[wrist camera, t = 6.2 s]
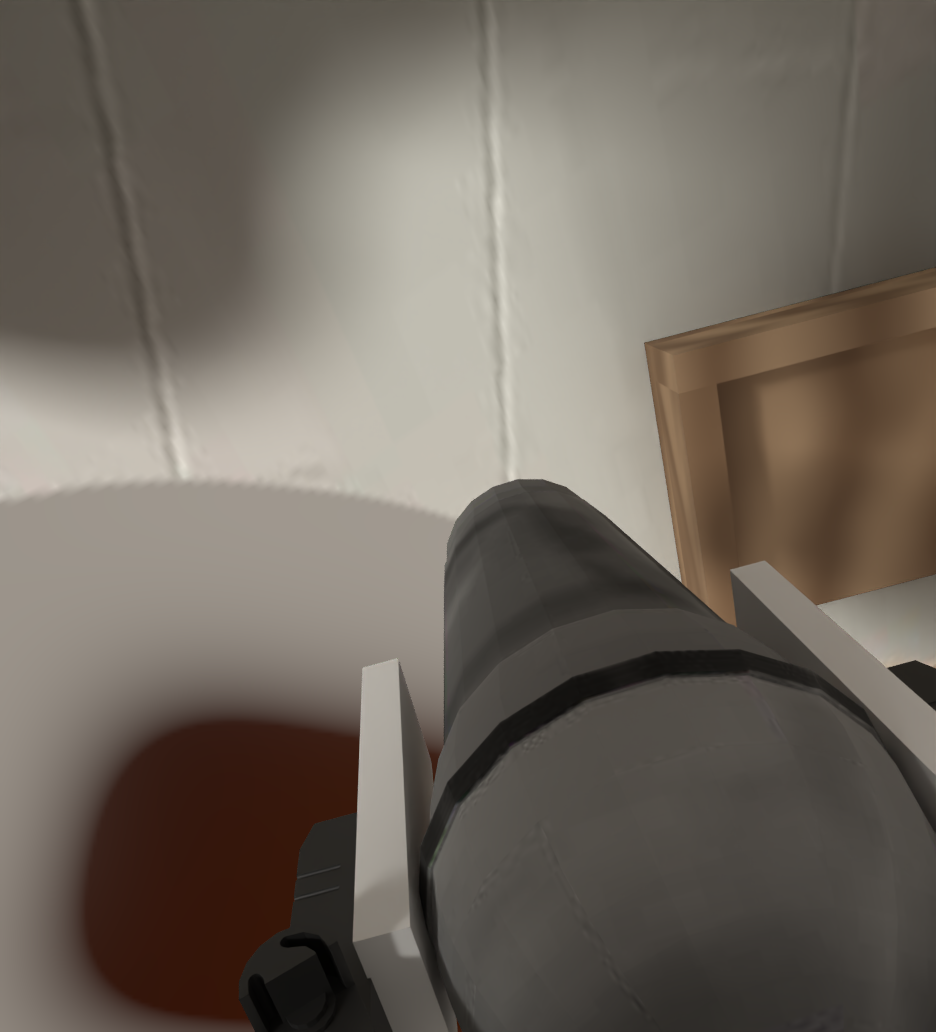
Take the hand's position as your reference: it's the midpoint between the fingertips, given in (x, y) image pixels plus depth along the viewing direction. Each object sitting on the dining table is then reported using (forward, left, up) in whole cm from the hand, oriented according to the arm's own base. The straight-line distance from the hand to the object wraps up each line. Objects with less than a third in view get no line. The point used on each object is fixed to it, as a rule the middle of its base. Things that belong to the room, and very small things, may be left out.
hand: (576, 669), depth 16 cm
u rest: (+16, -5, -20) cm, 27 cm away
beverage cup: (0, 0, -6) cm, 6 cm away
